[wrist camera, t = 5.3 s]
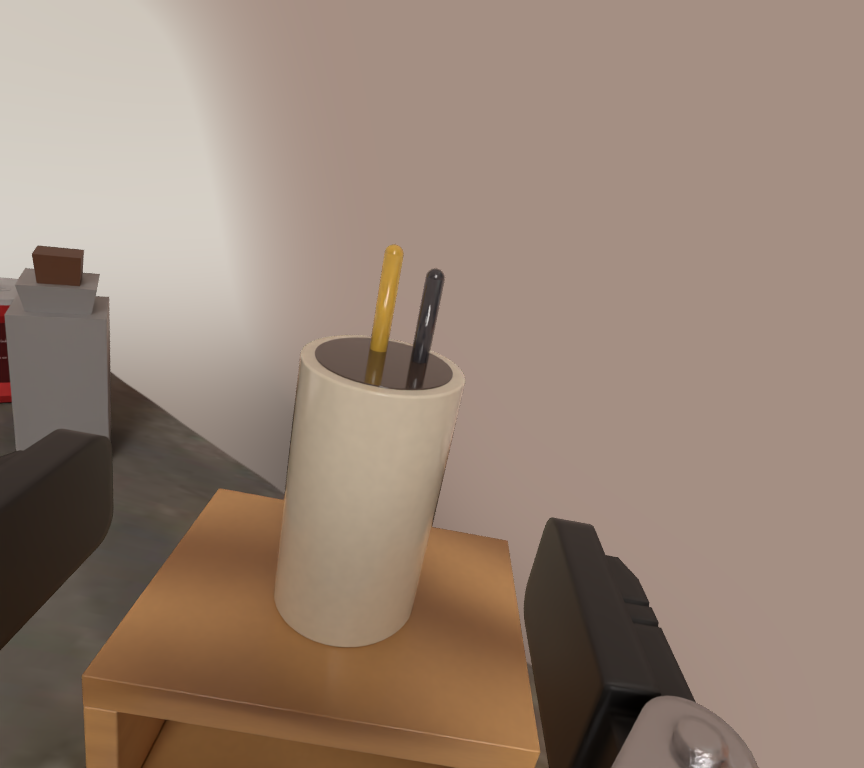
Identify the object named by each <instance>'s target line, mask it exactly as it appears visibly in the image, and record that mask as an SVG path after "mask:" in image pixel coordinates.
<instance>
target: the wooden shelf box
mask: <svg viewBox="0 0 864 768" xmlns="http://www.w3.org/2000/svg"><path fill="white" fill-rule="evenodd" d="M283 503H284V500H281V499H275V498H270V497H264V496H259V495H253V494H248V493H242V492H237V491H231V490H226V489H218V491H217V492H216V493H215V495H214V496H213V497H212V499H211V500H210V501H209V503H208V504H207V506H206V507H205V508H204V510H203V511H202V512H201V514H200V515H199V516H198V518H197V519H196V521H195V522H194V523H193V525H192V526H191V527H190V529H189V530H188V531H187V533H186V534H185V536H184V537H183V538H182V540H181V541H180V542H179V544H178V545H177V546H176V548H175V549H174V551H173V552H172V553H171V555H170V556H169V557H168V559H167V560H166V561H165V563H164V564H163V566H162V567H161V568H160V570H159V571H158V572H157V574H156V575H155V576H154V578H153V579H152V580H151V582H150V583H149V585H148V586H147V587H146V589H145V590H144V591H143V593H142V594H141V595H140V597H139V598H138V600H137V601H136V602H135V604H134V605H133V606H132V608H131V609H130V610H129V612H128V613H127V615H126V616H125V617H124V619H123V620H122V621H121V623H120V624H119V625H118V627H117V628H116V630H115V631H114V632H113V634H112V635H111V636H110V638H109V639H108V640H107V642H106V643H105V645H104V646H103V647H102V649H101V650H100V651H99V653H98V654H97V655H96V657H95V658H94V659H93V661H92V662H91V664H90V665H89V666H88V668H87V669H86V670H85V672H84V673H83V675H82V691H83V706H84V729H85V751H86V768H534V767H535V765H536V762H537V759H538V757H539V754H540V747H539V741H538V734H537V728H536V721H535V715H534V708H533V702H532V695H531V689H530V682H529V676H528V670H527V663H526V657H525V650H524V644H523V637H522V631H521V624H520V619H519V611H518V606H517V599H516V593H515V586H514V579H513V573H512V567H511V560H510V553H509V547H508V541H506V540H501V539H495V538H490V537H483V536H479V535H473V534H468V533H462V532H457V531H451V530H446V529H440V528H435V527H432V529H431V533H430V538H429V542H428V546H427V551H426V555H425V559H424V564H423V568H422V572H421V577H420V581H419V585H418V590H417V594H416V598H415V603H414V607H413V610H412V613H411V615H410V617H409V619H408V620H407V622H406V623H405V625H404V626H403V627H402V628H401V629H400V630H399V631H397V632H396V633H395V634H393V635H392V636H390V637H389V638H387V639H385V640H383V641H380V642H377V643H375V644H371V645H367V646H361V647H334V646H329V645H324V644H321V643H318V642H315V641H313V640H310V639H308V638H306V637H304V636H302V635H301V634H299V633H298V632H296V631H295V630H294V629H292V628H291V627H290V626H289V625H288V624H287V623H286V622H285V621H284V619H283V618H282V617H281V615H280V613H279V611H278V609H277V607H276V604H275V601H274V582H275V573H276V565H277V556H278V547H279V538H280V529H281V520H282V512H283Z"/></svg>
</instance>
